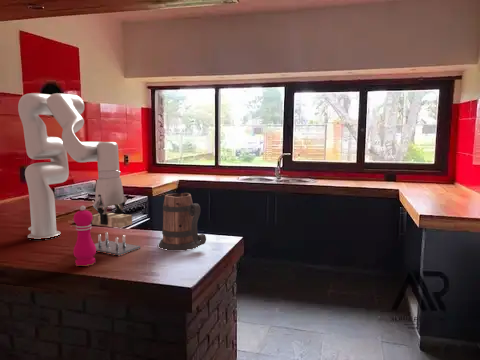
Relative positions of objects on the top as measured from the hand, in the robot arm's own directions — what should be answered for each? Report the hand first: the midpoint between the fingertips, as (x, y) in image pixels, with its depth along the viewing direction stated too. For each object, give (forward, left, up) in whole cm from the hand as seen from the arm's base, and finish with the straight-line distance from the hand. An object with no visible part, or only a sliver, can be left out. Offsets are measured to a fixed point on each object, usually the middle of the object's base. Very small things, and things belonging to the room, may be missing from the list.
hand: (111, 222), depth 150 cm
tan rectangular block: (0, 0, -1) cm, 1 cm away
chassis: (0, 0, -11) cm, 11 cm away
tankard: (+22, +16, -11) cm, 29 cm away
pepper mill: (+5, -17, -11) cm, 21 cm away
